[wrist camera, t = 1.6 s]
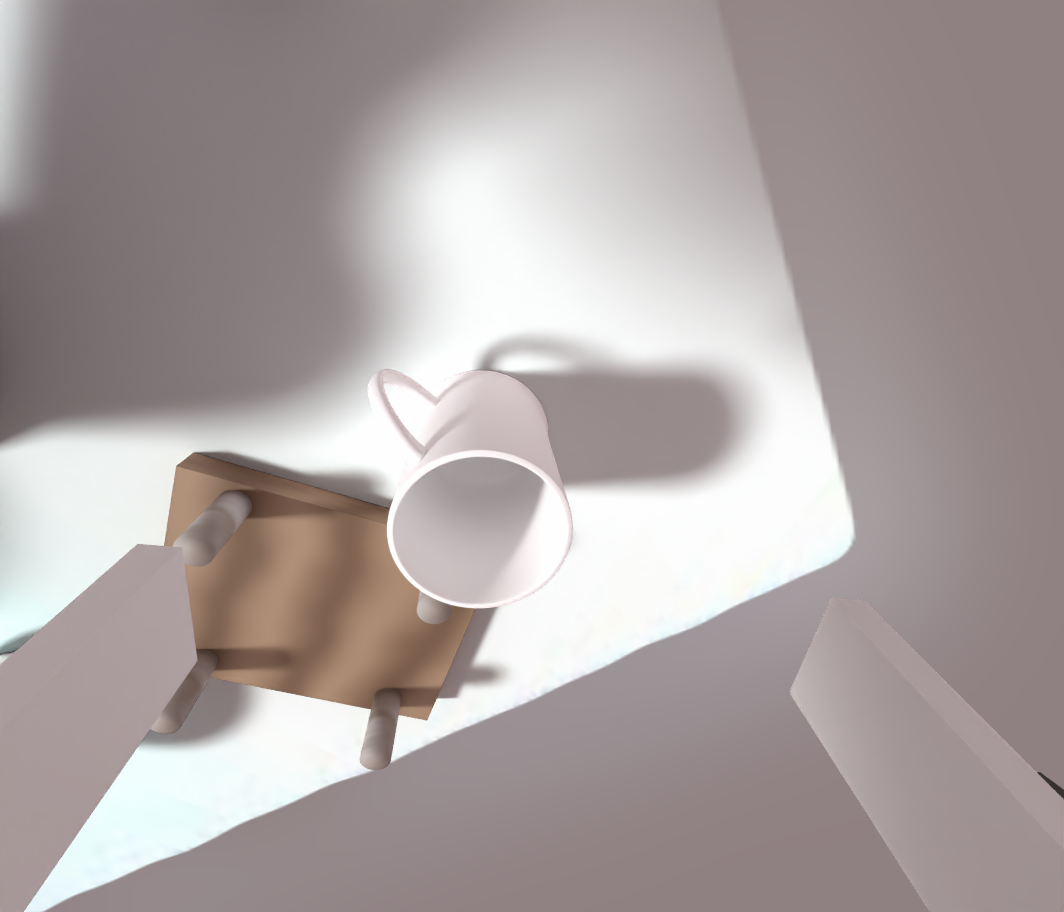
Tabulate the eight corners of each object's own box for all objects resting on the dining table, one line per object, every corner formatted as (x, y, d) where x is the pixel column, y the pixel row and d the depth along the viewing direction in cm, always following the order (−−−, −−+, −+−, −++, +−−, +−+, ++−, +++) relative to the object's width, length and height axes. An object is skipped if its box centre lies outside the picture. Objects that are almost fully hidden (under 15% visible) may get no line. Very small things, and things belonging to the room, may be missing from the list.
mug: (349, 380, 31) (278, 462, 21) (462, 295, 30) (451, 335, 19) (469, 515, 36) (463, 642, 25) (572, 447, 34) (614, 550, 24)
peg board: (161, 643, 38) (97, 728, 32) (193, 452, 32) (122, 508, 26) (429, 699, 42) (420, 783, 36) (497, 539, 37) (500, 605, 30)
